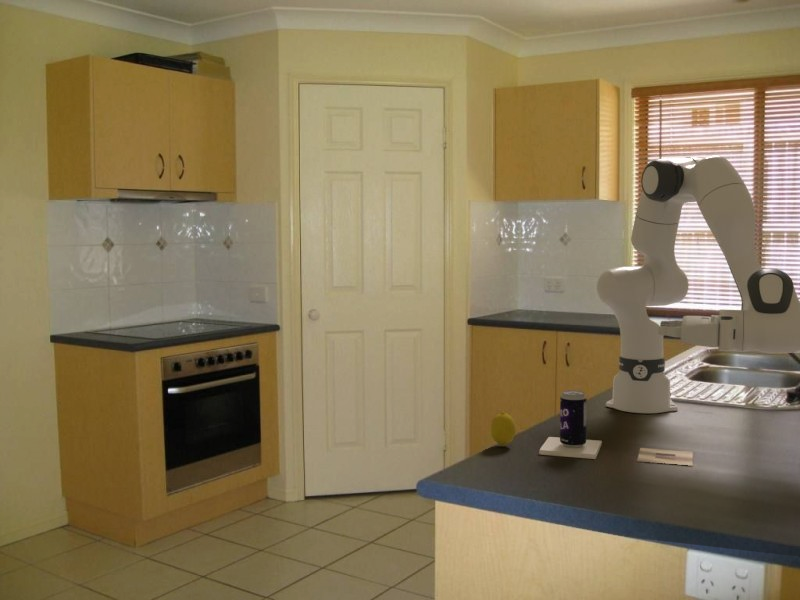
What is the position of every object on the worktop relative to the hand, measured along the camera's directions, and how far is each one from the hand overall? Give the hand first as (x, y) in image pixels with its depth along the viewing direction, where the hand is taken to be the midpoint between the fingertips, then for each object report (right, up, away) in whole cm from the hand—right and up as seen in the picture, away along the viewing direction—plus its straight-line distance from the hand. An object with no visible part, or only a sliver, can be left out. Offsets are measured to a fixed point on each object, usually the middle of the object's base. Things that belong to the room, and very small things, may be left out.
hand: (659, 327), depth 178 cm
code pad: (0, -28, -3) cm, 28 cm away
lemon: (-33, -27, +7) cm, 44 cm away
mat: (-19, -27, +3) cm, 33 cm away
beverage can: (-18, -27, +3) cm, 32 cm away
